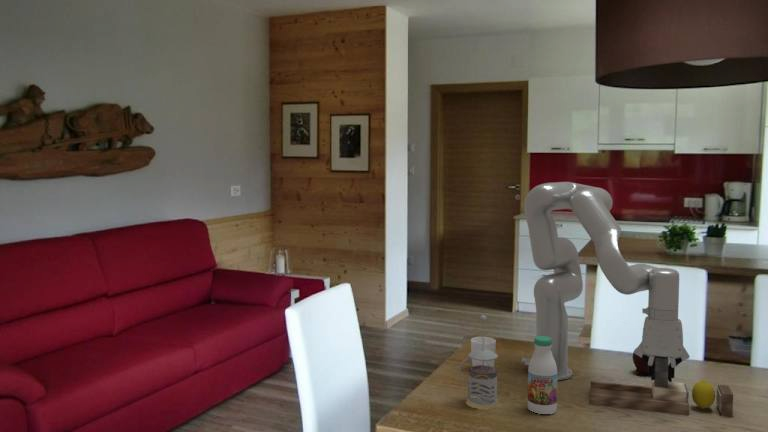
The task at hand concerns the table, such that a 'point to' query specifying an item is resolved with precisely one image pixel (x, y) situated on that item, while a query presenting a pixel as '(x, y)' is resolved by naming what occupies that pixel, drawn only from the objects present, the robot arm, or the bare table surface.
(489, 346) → the translucent flanged cylinder
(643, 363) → the mate gourd
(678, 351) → the robot arm
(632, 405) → the press bed
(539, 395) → the milk bottle
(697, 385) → the lemon
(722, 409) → the open brown box
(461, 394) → the table surface
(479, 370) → the french press
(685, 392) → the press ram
